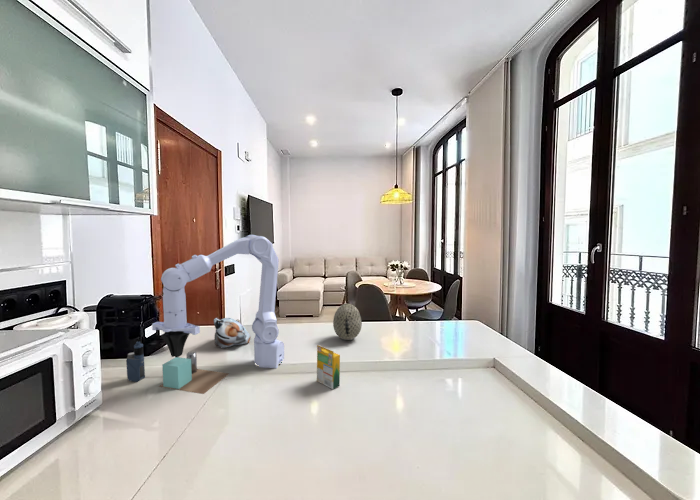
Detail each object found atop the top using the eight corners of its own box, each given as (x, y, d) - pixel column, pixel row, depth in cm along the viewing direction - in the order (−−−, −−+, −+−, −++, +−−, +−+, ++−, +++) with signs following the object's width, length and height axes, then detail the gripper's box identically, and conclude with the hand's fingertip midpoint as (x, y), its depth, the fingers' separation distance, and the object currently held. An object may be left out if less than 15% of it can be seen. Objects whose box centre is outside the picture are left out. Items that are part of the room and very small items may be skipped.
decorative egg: (361, 345, 127) (362, 308, 125) (332, 344, 127) (332, 307, 126) (361, 334, 139) (361, 300, 137) (333, 333, 139) (334, 299, 137)
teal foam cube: (191, 380, 96) (191, 359, 95) (178, 389, 91) (177, 366, 90) (177, 377, 97) (176, 356, 97) (163, 386, 92) (162, 364, 92)
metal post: (198, 370, 102) (198, 352, 102) (192, 374, 100) (192, 355, 99) (191, 369, 103) (190, 351, 102) (185, 373, 100) (184, 354, 100)
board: (229, 376, 101) (229, 373, 100) (203, 397, 89) (203, 393, 89) (188, 370, 104) (188, 367, 104) (158, 389, 92) (158, 386, 92)
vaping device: (140, 382, 96) (138, 344, 95) (125, 380, 97) (123, 342, 96) (147, 378, 99) (145, 340, 97) (132, 376, 100) (130, 339, 98)
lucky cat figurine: (257, 339, 131) (256, 315, 123) (237, 361, 121) (234, 336, 114) (228, 324, 135) (225, 300, 127) (206, 344, 126) (201, 320, 118)
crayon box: (340, 386, 96) (340, 348, 95) (332, 390, 94) (333, 351, 93) (323, 377, 101) (323, 342, 100) (316, 381, 99) (316, 344, 98)
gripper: (142, 311, 90) (144, 358, 91) (186, 316, 87) (188, 364, 88) (162, 305, 97) (164, 348, 98) (204, 309, 93) (205, 354, 95)
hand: (176, 355), depth 93 cm, fingers closed
